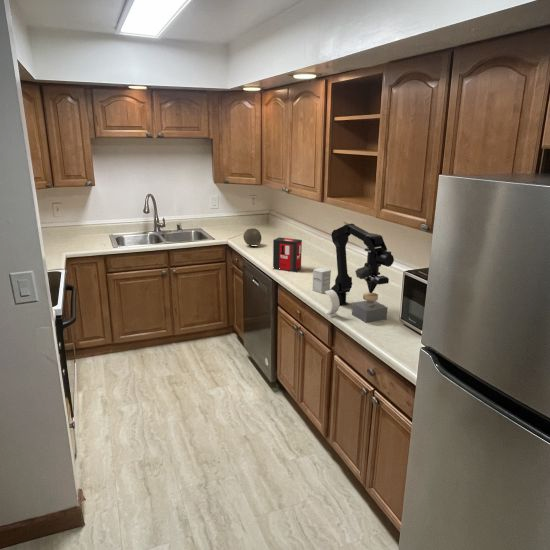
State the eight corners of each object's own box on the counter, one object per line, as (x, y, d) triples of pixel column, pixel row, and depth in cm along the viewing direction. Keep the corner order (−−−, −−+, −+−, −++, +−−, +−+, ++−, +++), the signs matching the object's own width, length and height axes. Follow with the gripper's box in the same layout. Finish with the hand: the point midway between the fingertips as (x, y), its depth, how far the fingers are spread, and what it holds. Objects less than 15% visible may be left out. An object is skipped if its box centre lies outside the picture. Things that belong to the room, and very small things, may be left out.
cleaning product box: (273, 269, 299) (273, 239, 293) (278, 266, 306) (278, 237, 301) (295, 272, 292) (296, 242, 286) (300, 269, 300) (301, 239, 294)
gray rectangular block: (351, 314, 222) (352, 302, 220) (375, 310, 227) (376, 299, 226) (365, 323, 211) (366, 310, 210) (389, 318, 217) (391, 306, 215)
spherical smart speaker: (254, 244, 370) (254, 226, 366) (264, 247, 360) (265, 228, 355) (240, 246, 361) (240, 228, 357) (250, 249, 351) (250, 230, 347)
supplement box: (311, 290, 257) (312, 269, 254) (321, 287, 262) (321, 267, 258) (321, 293, 252) (322, 272, 248) (330, 291, 256) (331, 269, 253)
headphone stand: (330, 312, 224) (332, 289, 221) (338, 316, 219) (340, 293, 216) (323, 314, 222) (324, 291, 218) (331, 318, 217) (332, 294, 214)
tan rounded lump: (359, 304, 219) (360, 293, 217) (371, 303, 222) (372, 291, 220) (367, 309, 213) (368, 297, 211) (380, 307, 216) (381, 296, 214)
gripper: (347, 258, 216) (346, 289, 220) (370, 268, 200) (368, 301, 204) (367, 256, 220) (364, 286, 225) (390, 265, 204) (388, 298, 209)
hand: (370, 292), depth 215 cm, fingers closed
